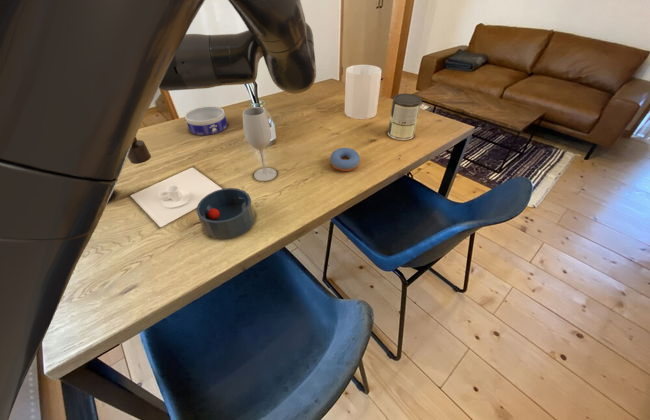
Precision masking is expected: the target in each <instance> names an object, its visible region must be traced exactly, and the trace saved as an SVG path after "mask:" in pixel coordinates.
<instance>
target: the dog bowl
mask: <svg viewBox="0 0 650 420" xmlns="http://www.w3.org/2000/svg"><path fill="white" fill-rule="evenodd" d="M184 120H185V122H186V125H187V127H188V130H189V131H190V132H191V134H193V135H196V136H211V135H215V134H219V133H220V132H223V131H225V130H226V128H227V127H228V121H227V117H226V113H225V110H224V109H223V108H222V107H220V106H214V105H205V106H199V107H195V108H193V109H189V111H187V112H185V114H184Z"/></svg>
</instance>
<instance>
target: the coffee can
mask: <svg viewBox="0 0 650 420" xmlns="http://www.w3.org/2000/svg"><path fill="white" fill-rule="evenodd" d="M422 102H423V98H422V97H421V96H420V95H417V94H414V93H398V94H395V95H394V96H393V97H392V105H391V111H390V117H389V124H388V130H387V135H388V136H389V137H390V138H391V139H394V140H398V141H409V140H412V139H413V138H414V137H415V132H416V127H417V123H418V118H419V114H420V109H421V104H422Z"/></svg>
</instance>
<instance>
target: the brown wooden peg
mask: <svg viewBox="0 0 650 420" xmlns="http://www.w3.org/2000/svg"><path fill="white" fill-rule="evenodd" d="M151 158H152V155H151V153H150V150H149V149H148V147H147V145H146V143H145V141H143V140H141V139H138V138H137V135H136V136H135V139H134V141H133V143H132V146H131V148H130V151H129V154H128V156H127V159H128V160H129V162H130V163H131V164H133V165H139V164H143V163H146V162H148V161H149V160H151Z"/></svg>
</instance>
